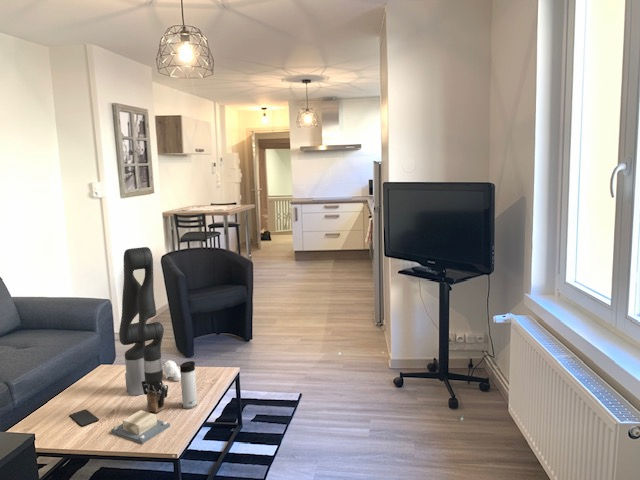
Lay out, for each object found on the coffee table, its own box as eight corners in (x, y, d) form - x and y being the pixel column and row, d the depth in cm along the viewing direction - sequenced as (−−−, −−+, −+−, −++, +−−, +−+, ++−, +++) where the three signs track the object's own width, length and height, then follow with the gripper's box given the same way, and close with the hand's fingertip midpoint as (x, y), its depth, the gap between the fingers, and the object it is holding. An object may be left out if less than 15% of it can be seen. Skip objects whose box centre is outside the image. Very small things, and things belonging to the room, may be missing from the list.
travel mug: (194, 409, 208) (191, 365, 205) (180, 408, 209) (177, 365, 206) (200, 402, 214) (197, 360, 211) (187, 401, 215) (183, 359, 212)
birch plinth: (123, 429, 191) (122, 420, 190) (141, 419, 198) (140, 410, 198) (139, 434, 186) (138, 425, 186) (157, 424, 194) (156, 414, 194)
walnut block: (147, 409, 207) (146, 394, 206) (156, 404, 211) (155, 389, 210) (156, 412, 204) (154, 397, 203) (165, 407, 209) (163, 392, 208)
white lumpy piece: (172, 357, 245) (185, 365, 237) (173, 372, 247) (185, 381, 239) (161, 361, 241) (174, 369, 233) (161, 376, 242) (174, 385, 235)
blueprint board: (110, 432, 191) (110, 428, 190) (139, 416, 203) (138, 412, 203) (142, 443, 182) (142, 438, 182) (170, 426, 194) (169, 421, 194)
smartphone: (85, 408, 211) (99, 419, 201) (85, 410, 211) (100, 421, 201) (67, 415, 206) (81, 426, 196) (68, 417, 206) (81, 428, 196)
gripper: (134, 368, 205) (137, 405, 208) (158, 374, 198) (161, 413, 201) (148, 362, 212) (151, 398, 214) (172, 368, 205) (174, 405, 207)
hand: (156, 405), depth 207 cm, fingers closed on walnut block, 5 cm apart
